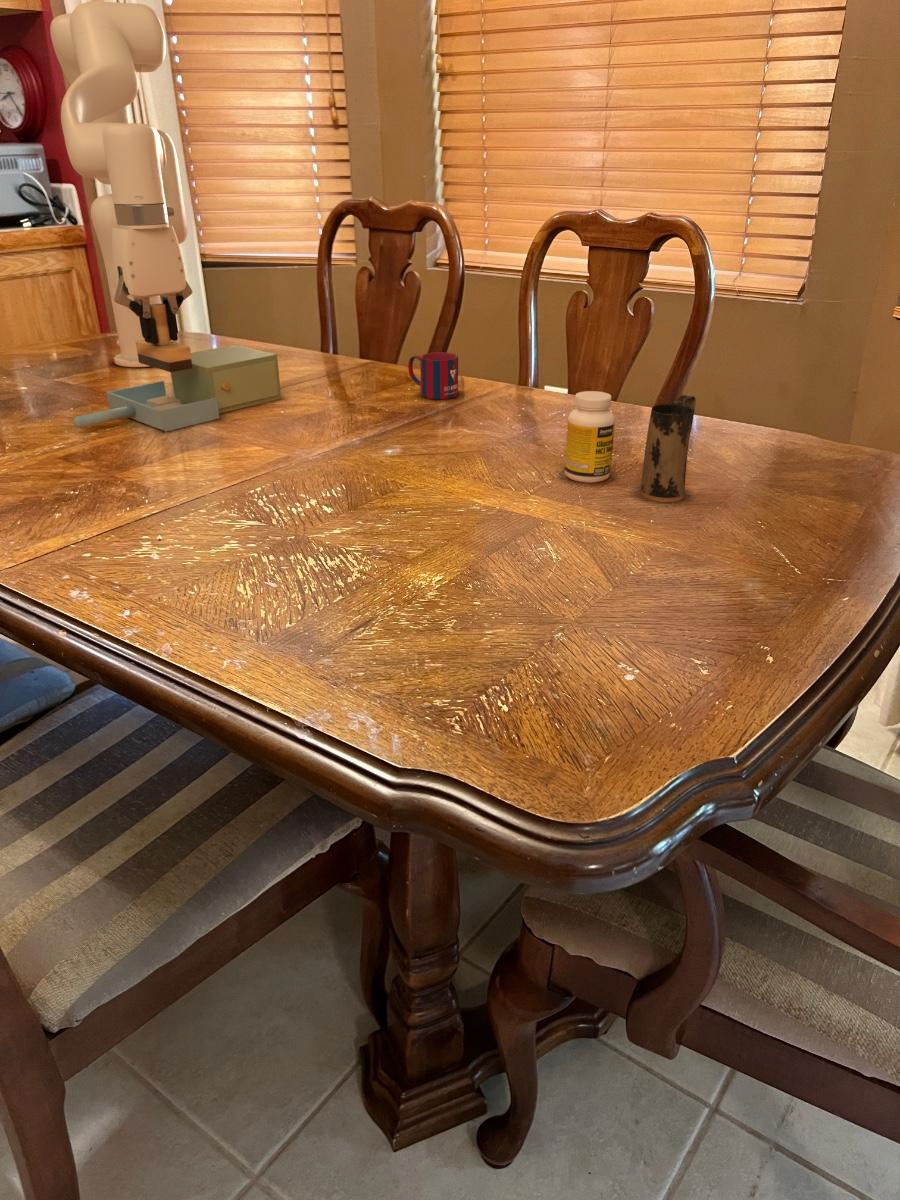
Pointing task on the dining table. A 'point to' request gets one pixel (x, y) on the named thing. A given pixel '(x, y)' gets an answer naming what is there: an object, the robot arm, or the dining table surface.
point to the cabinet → (229, 378)
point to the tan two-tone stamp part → (163, 346)
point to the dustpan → (150, 409)
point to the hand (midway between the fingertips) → (161, 339)
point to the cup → (437, 375)
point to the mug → (667, 450)
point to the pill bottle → (590, 438)
